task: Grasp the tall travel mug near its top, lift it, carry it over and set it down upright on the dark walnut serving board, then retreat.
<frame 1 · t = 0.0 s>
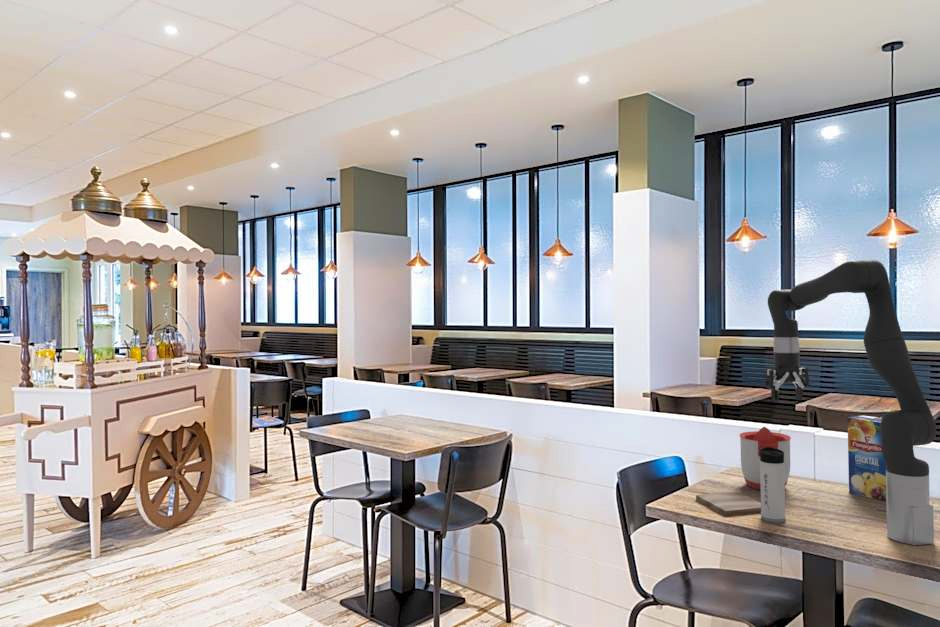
hand: (787, 400, 209), 29 cm above the table, fingers open, 8 cm apart
juice carton: (874, 495, 202), on the table
travel mug: (773, 520, 183), on the table
walnut board: (731, 505, 196), on the table
citrus juicer: (766, 487, 214), on the table
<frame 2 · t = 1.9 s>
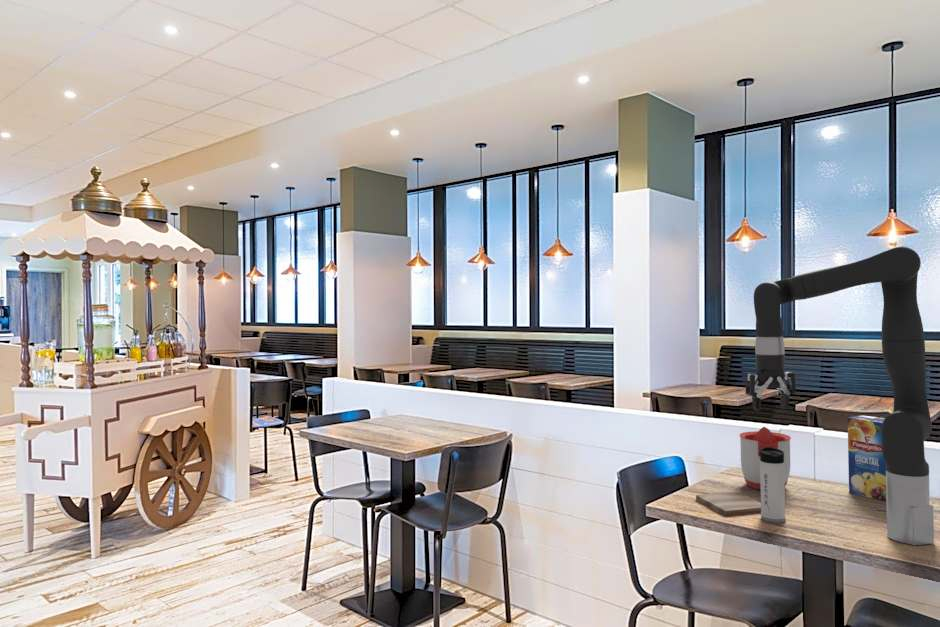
hand: (770, 409, 182), 31 cm above the table, fingers open, 8 cm apart
nothing on the table moved.
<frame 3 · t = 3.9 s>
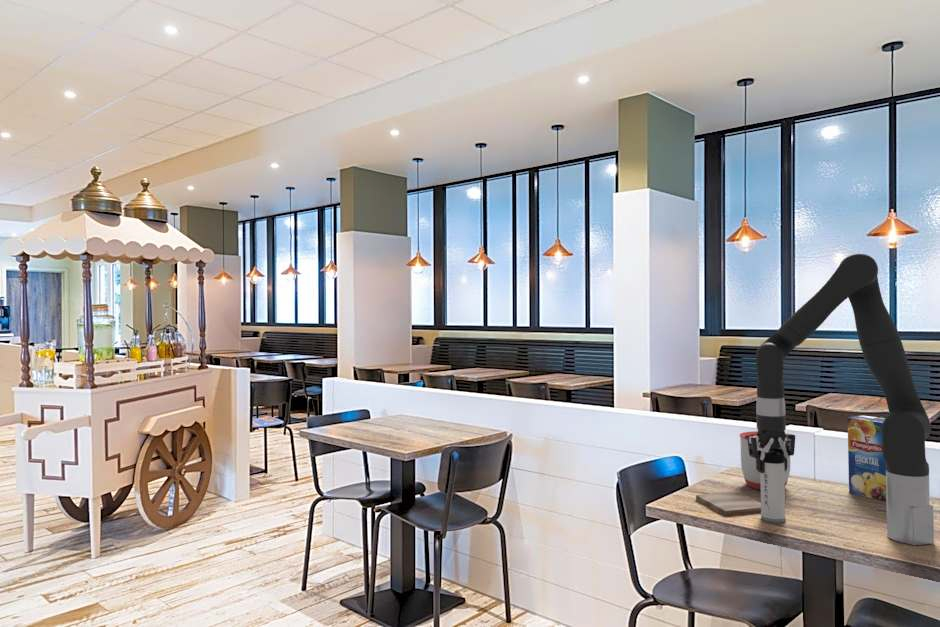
hand: (772, 471, 183), 14 cm above the table, fingers closed on travel mug, 6 cm apart
travel mug: (773, 520, 183), on the table, touching gripper
everything else where it was.
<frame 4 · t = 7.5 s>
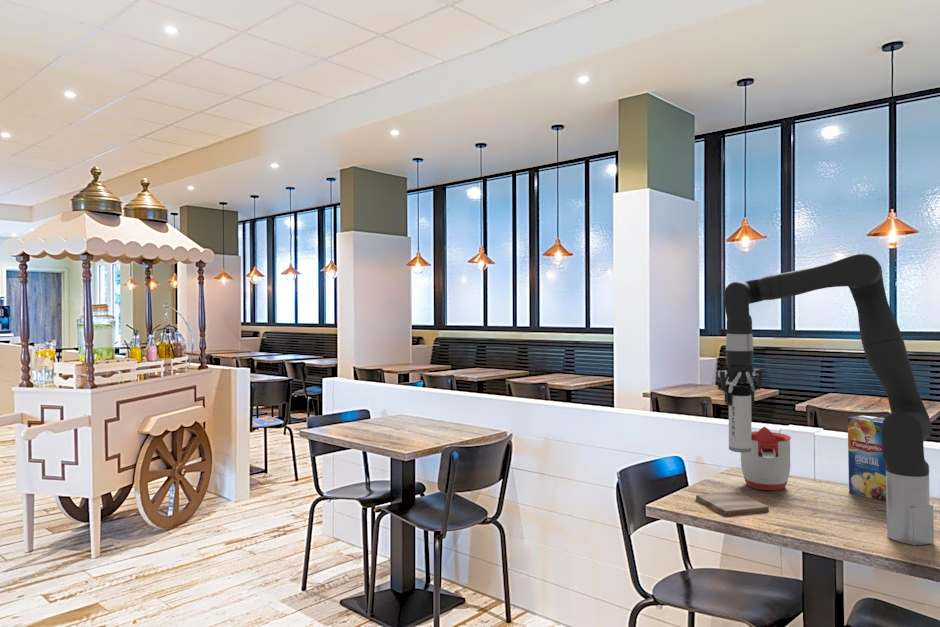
hand: (739, 404, 192), 31 cm above the table, fingers closed on travel mug, 6 cm apart
travel mug: (739, 450, 192), point 18 cm above the table, touching gripper
everything else where it was.
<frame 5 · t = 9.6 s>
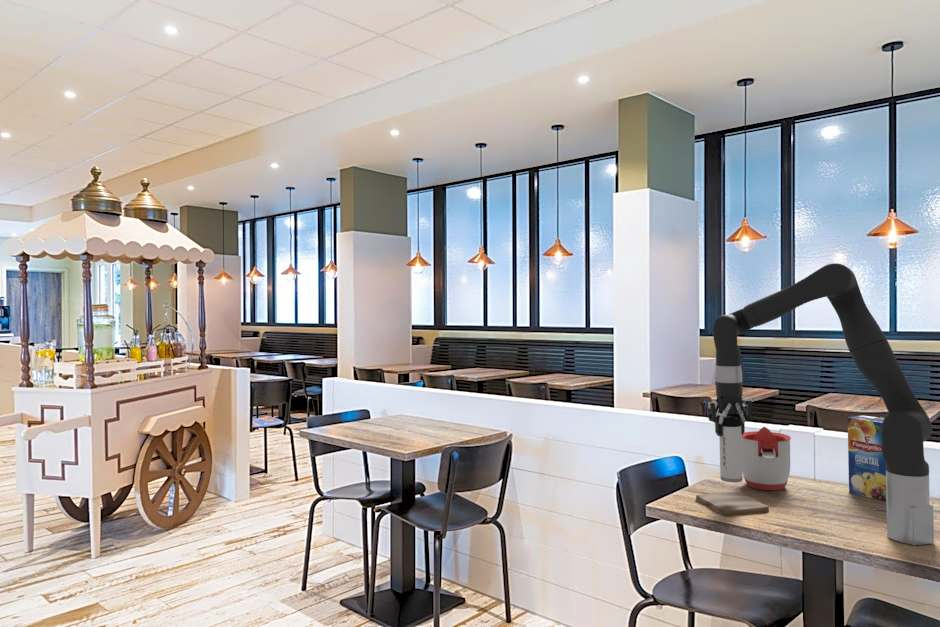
hand: (730, 435, 195), 22 cm above the table, fingers closed on travel mug, 6 cm apart
travel mug: (731, 480, 196), point 8 cm above the table, touching gripper
everything else where it was.
when the fingers open (16 cm above the table, at t = 11.3 s): travel mug stays where it is, resting on walnut board.
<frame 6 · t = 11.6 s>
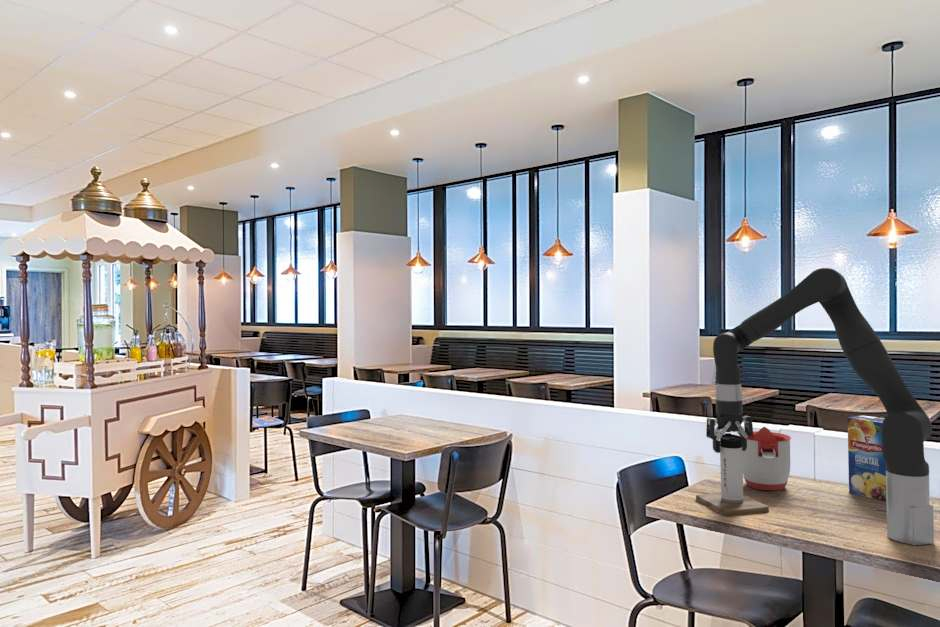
hand: (730, 451, 196), 17 cm above the table, fingers open, 8 cm apart
travel mug: (732, 501, 196), point 1 cm above the table, touching walnut board
everything else where it was.
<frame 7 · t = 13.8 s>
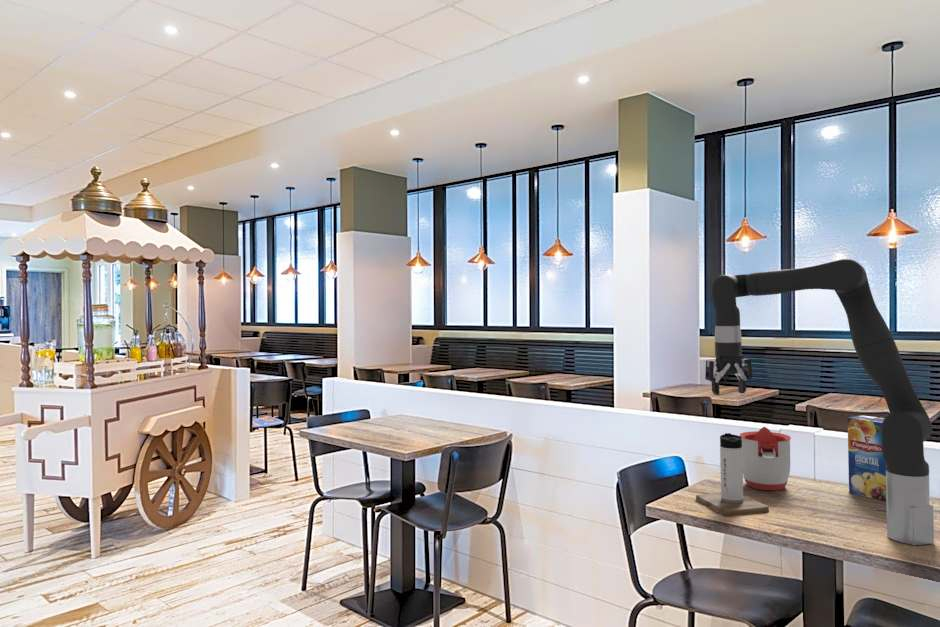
hand: (729, 393, 195), 34 cm above the table, fingers open, 8 cm apart
nothing on the table moved.
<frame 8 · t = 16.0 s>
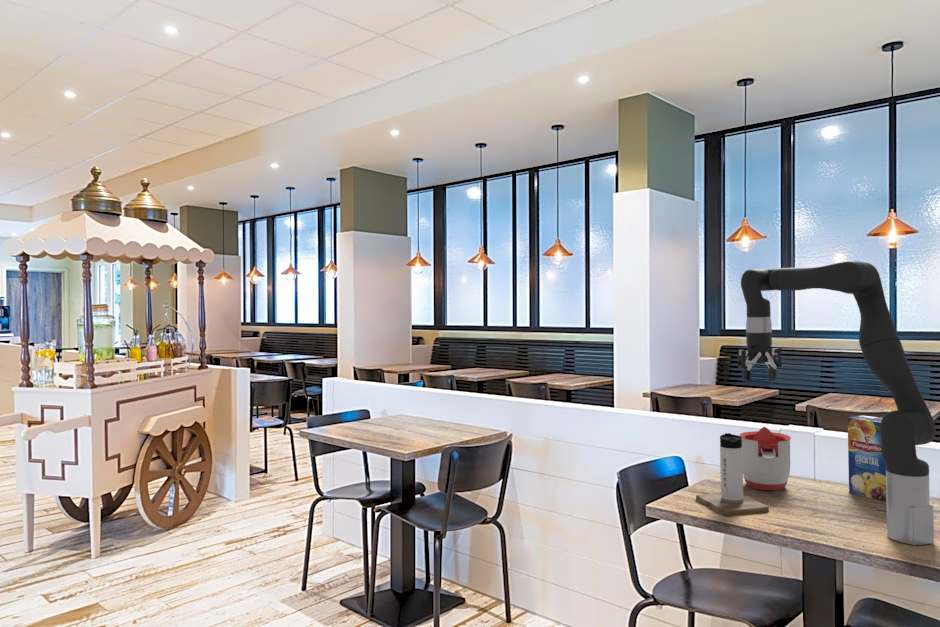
hand: (759, 381, 207), 36 cm above the table, fingers open, 8 cm apart
nothing on the table moved.
at the end: travel mug inside the target area on the walnut board (0.2 cm from its centre), point 1.3 cm above the walnut board's base; travel mug tilted 0°; the gripper is holding nothing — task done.
